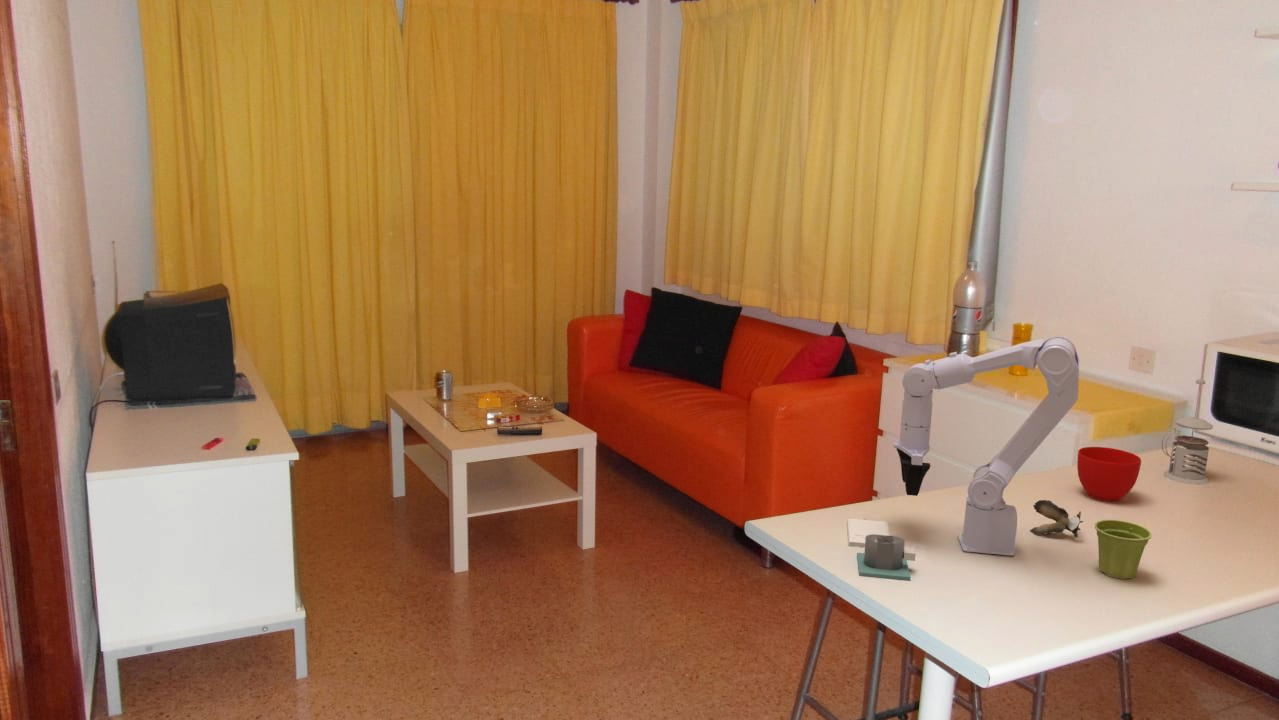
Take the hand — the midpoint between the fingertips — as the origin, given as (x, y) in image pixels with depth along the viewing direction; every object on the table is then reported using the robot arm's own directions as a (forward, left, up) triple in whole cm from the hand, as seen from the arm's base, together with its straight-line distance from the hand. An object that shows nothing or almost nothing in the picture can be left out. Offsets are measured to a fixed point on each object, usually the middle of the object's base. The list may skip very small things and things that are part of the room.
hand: (910, 488), depth 187 cm
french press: (-71, -53, -10) cm, 89 cm away
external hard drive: (+8, +4, -10) cm, 13 cm away
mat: (+6, +19, -9) cm, 22 cm away
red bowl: (-48, -35, -10) cm, 60 cm away
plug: (+6, +19, -9) cm, 22 cm away
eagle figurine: (-30, -7, -10) cm, 32 cm away
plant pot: (-37, +11, -10) cm, 40 cm away
